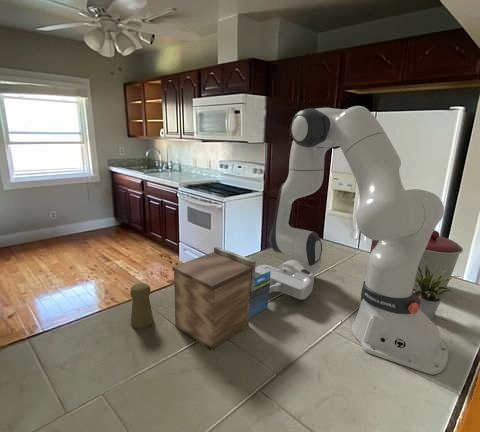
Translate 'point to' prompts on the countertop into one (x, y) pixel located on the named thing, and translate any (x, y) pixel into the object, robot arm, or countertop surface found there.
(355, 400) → the countertop surface
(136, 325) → the cork
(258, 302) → the label tape box
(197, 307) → the storage box
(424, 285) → the house plant
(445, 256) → the canister
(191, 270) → the sliding lid
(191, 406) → the countertop surface
